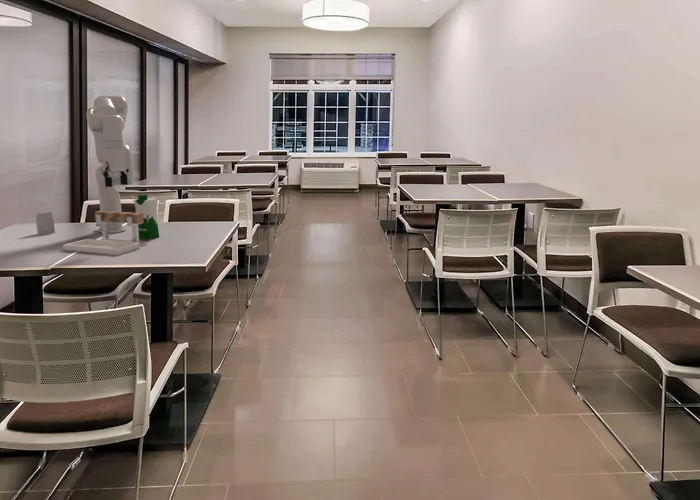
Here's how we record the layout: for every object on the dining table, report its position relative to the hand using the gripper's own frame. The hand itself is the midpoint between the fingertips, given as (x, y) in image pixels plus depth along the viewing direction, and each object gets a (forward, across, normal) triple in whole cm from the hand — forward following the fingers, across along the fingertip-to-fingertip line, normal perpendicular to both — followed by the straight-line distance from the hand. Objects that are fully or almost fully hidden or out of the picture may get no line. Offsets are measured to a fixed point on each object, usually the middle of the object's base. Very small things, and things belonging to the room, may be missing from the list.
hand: (116, 185), depth 257 cm
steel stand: (+26, 0, 0) cm, 26 cm away
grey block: (+26, -10, -51) cm, 58 cm away
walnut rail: (+16, 0, 0) cm, 16 cm away
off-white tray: (+26, +12, 0) cm, 28 cm away
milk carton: (+26, -18, +1) cm, 31 cm away
